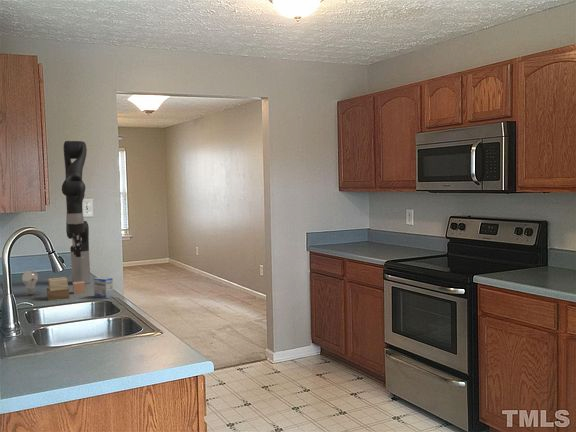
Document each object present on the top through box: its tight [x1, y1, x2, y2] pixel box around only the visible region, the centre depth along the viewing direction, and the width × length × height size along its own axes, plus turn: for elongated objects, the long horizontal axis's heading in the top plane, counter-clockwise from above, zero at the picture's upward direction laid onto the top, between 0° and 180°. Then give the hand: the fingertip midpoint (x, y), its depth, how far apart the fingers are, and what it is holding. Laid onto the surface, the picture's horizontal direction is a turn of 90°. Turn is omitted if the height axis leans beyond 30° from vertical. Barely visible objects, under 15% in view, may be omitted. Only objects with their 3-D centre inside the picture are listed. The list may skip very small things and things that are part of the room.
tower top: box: [48, 276, 69, 291], centre depth 257 cm, size 8×8×4 cm
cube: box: [72, 281, 86, 295], centre depth 268 cm, size 5×5×5 cm
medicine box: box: [93, 277, 114, 299], centre depth 256 cm, size 8×4×9 cm, turn 62°
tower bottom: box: [46, 287, 70, 301], centre depth 257 cm, size 9×9×4 cm
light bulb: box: [21, 269, 39, 296], centre depth 265 cm, size 7×7×12 cm
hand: (77, 256), depth 267 cm, fingers open, 8 cm apart
